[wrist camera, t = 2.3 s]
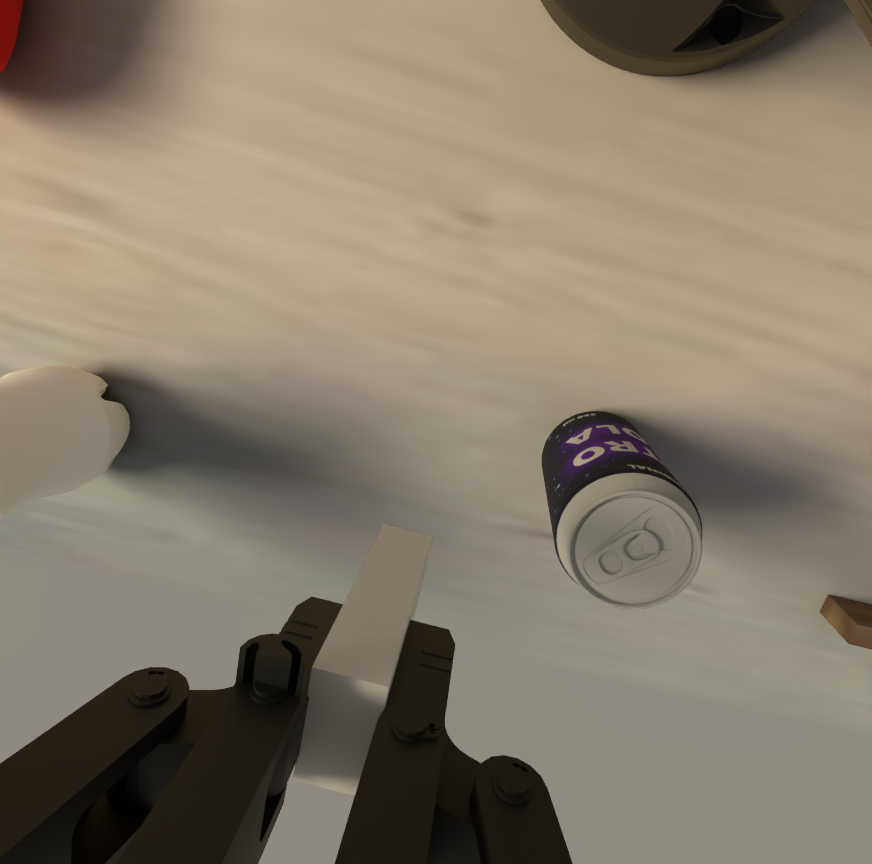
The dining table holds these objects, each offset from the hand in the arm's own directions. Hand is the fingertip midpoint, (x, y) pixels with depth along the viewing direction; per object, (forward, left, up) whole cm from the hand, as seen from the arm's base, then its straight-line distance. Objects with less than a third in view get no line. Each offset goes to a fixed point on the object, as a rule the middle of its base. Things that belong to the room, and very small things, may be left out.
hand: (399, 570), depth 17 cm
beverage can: (-3, +8, -17) cm, 19 cm away
